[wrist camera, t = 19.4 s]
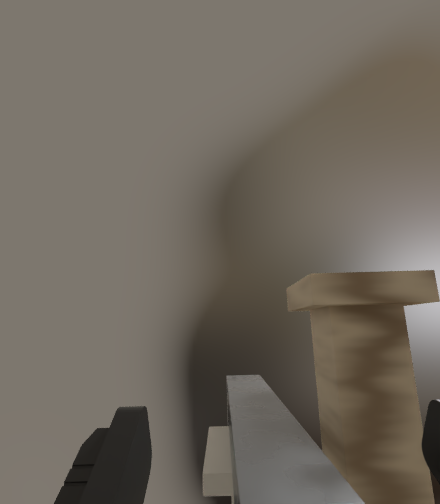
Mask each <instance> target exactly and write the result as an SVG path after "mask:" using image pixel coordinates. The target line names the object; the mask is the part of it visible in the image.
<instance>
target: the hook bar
mask: <svg viewBox="0 0 440 504" xmlns="http://www.w3.org/2000/svg"><path fill="white" fill-rule="evenodd" d="M227 407H228V409H227V410H228V426H229V438H230V452H231V466H232V479H233V493H234V504H365V503H364V502H363V500H362V499H361V498H360V497H359V496H358V494H357V493H356V492H355V491H354V490H353V488H352V487H351V486H350V485H349V483H348V482H347V481H346V480H345V479H344V477H343V476H342V475H341V474H340V472H339V471H338V470H337V469H336V468H335V466H334V465H333V464H332V463H331V461H330V460H329V459H328V458H327V457H326V455H325V454H324V453H323V452H322V451H321V449H320V448H319V447H318V446H317V444H316V443H315V442H314V441H313V440H312V438H311V437H310V436H309V435H308V434H307V432H306V431H305V430H304V429H303V427H302V426H301V425H300V424H299V422H298V421H297V420H296V419H295V418H294V416H293V415H292V414H291V413H290V412H289V410H288V409H287V408H286V407H285V405H284V404H283V403H282V402H281V401H280V399H279V398H278V397H277V396H276V394H275V393H274V392H273V391H272V390H271V388H270V387H269V386H268V385H267V383H266V382H265V381H264V380H263V379H262V377H261V376H260V375H239V376H227Z"/></svg>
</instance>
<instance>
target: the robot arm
mask: <svg viewBox="0 0 440 504" xmlns="http://www.w3.org/2000/svg"><path fill="white" fill-rule="evenodd" d="M149 431H150V430H149V422H148V413H147V408H146V407H145V406H140V407H139V406H138V407H119V408H118V409H117V411H116V413H115V416H114V418H113V420H112V423H111V425H110V428H97V429H96V430H95V431H94V432H93V434H92V435H91V436H90V437H89V438H88V439H87V440H86V441H85V442H84V444H82V446H81V448H80V450H79V452H78V454H77V457H76V459H75V461H74V463H73V466H72V469H70V471H69V473H68V475H67V477H66V480H65V481H64V486H62V488H61V490H60V492H59V494H58V496H57V498H56V501H55V502H54V504H143V502H144V498H145V493H146V489H147V484H148V479H149V475H150V469H151V458H152V450H151V439H150V432H149ZM422 452H423V456H424V459H425V461H426V464H427V466H428V467H429V469H430V470H431V472H432V473H433V475H434V476H435V478H436V479H437V481H438V482H439V484H440V400H432V401H431V402H430V403H429V406H428V411H427V416H426V421H425V427H424V432H423V437H422Z"/></svg>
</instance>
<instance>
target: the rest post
mask: <svg viewBox="0 0 440 504" xmlns="http://www.w3.org/2000/svg"><path fill="white" fill-rule="evenodd" d="M203 496H232V504H234V493H233V479H232V466H231V452H230V438H229V426H226V427H224V426H223V427H209V433H208V440H207V448H206V454H205V461H204V468H203Z"/></svg>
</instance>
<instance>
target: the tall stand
mask: <svg viewBox="0 0 440 504" xmlns="http://www.w3.org/2000/svg"><path fill="white" fill-rule="evenodd" d="M287 301H288V311H310V317H311V328H312V338H313V350H314V361H315V372H316V383H317V394H318V405H319V416H320V427H321V438H322V449H323V453H324V454H325V455H326V457H327V458H328V459H329V460H330V461H331V463H332V464H333V465H334V466H335V468H336V469H337V470H338V471H339V472H340V474H341V475H342V476H343V477H344V479H345V480H346V481H347V482H348V483H349V485H350V486H351V487H352V488H353V490H354V491H355V492H356V493H357V494H358V496H359V497H360V498H361V499H362V500H363V502H364V503H365V504H435V503H434V496H433V490H432V484H431V478H430V471H429V467H428V466H427V464H426V461H425V459H424V456H423V452H422V437H423V427H422V420H421V414H420V408H419V401H418V395H417V389H416V382H415V376H414V370H413V363H412V357H411V351H410V344H409V338H408V332H407V325H406V319H405V313H404V307H403V306H407V305H415V304H423V303H430V302H439V301H440V300H439V295H438V289H437V284H436V278H435V273H434V270H426V271H388V272H355V273H354V272H353V273H317V274H309V275H308V276H306V277H304V278H303V279H301V280H299V281H298V282H296V283H295V284H293V285H292V286H290V287H288V288H287Z"/></svg>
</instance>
